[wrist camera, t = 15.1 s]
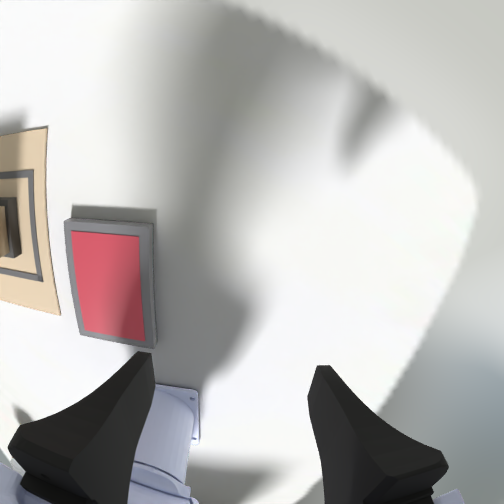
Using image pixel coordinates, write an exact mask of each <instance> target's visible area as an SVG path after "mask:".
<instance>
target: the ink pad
mask: <svg viewBox="0 0 504 504" xmlns="http://www.w3.org/2000/svg"><path fill="white" fill-rule="evenodd" d="M64 233H65V244H66V254H67V263H68V271H69V278H70V285H71V291H72V297H73V303H74V308H75V313H76V318H77V323H78V328H79V332H80V335H83V336H88V337H92V338H97V339H102V340H107V341H112V342H117V343H122V344H128V345H134V346H139V347H146V348H152V349H154V348H155V346H156V343H157V334H156V320H155V303H154V279H153V224H151V223H138V222H125V221H110V220H96V219H80V218H69V219H67V220H65V221H64Z"/></svg>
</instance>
